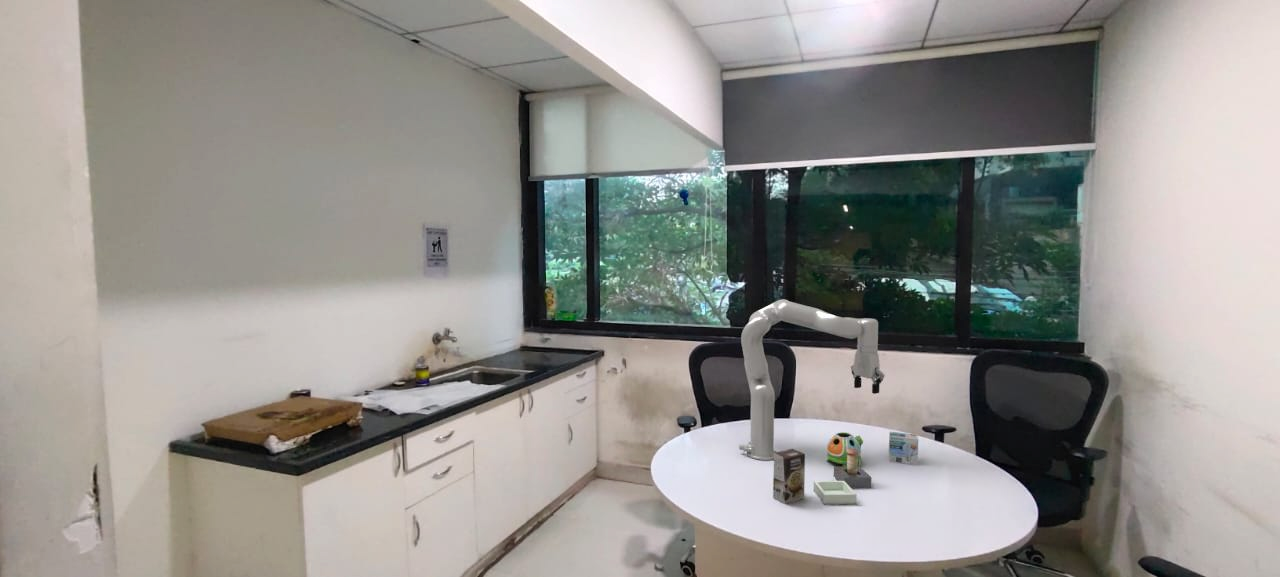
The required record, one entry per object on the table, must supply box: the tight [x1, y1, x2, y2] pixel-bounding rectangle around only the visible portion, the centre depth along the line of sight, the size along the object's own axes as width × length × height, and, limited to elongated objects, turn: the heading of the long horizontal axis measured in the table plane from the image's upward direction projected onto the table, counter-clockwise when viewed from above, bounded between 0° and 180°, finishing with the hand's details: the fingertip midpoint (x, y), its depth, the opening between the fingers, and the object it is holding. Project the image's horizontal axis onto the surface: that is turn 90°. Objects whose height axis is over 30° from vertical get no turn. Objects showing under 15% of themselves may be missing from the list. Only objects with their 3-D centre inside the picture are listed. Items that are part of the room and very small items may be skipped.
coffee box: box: [772, 448, 806, 505], centre depth 190 cm, size 9×6×16 cm
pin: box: [846, 449, 859, 475], centre depth 202 cm, size 4×4×12 cm
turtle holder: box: [826, 431, 864, 467], centre depth 222 cm, size 12×18×12 cm
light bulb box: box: [888, 431, 919, 466], centre depth 223 cm, size 11×7×11 cm, turn 68°
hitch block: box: [833, 465, 872, 489], centre depth 203 cm, size 10×10×4 cm
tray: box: [813, 480, 858, 506], centre depth 191 cm, size 11×11×4 cm
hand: (866, 390), depth 223 cm, fingers open, 9 cm apart
